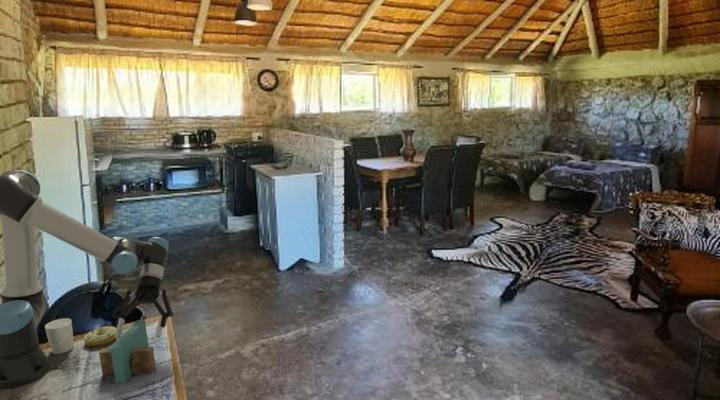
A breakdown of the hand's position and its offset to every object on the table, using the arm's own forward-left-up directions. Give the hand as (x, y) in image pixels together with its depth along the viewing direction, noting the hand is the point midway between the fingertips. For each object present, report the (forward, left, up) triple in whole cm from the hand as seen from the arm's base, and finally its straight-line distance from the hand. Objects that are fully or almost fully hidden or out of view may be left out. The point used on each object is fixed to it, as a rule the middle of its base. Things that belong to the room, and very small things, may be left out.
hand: (137, 337), depth 156 cm
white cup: (-25, -21, -8) cm, 33 cm away
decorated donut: (-23, -9, -8) cm, 26 cm away
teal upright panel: (+4, -3, -8) cm, 9 cm away
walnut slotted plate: (+6, -5, -8) cm, 11 cm away
